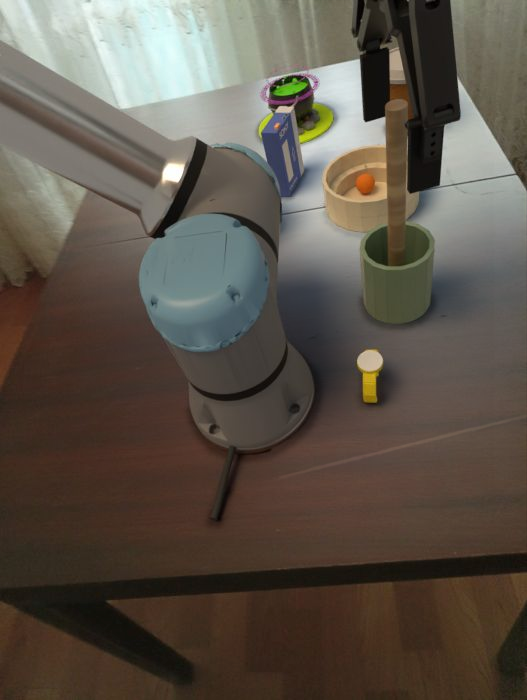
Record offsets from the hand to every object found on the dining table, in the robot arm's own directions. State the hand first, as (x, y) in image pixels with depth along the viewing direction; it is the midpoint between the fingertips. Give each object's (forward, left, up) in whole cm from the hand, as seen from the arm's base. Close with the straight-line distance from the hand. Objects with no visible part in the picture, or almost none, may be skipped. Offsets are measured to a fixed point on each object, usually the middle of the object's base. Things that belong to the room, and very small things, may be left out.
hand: (397, 149), depth 49 cm
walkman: (+33, +8, -22) cm, 41 cm away
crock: (0, 0, -22) cm, 22 cm away
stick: (0, 0, -22) cm, 22 cm away
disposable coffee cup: (+40, -15, -22) cm, 48 cm away
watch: (-12, +7, -22) cm, 26 cm away
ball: (+24, -3, -20) cm, 31 cm away
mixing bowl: (+21, -3, -22) cm, 31 cm away
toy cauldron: (+52, +3, -22) cm, 57 cm away
